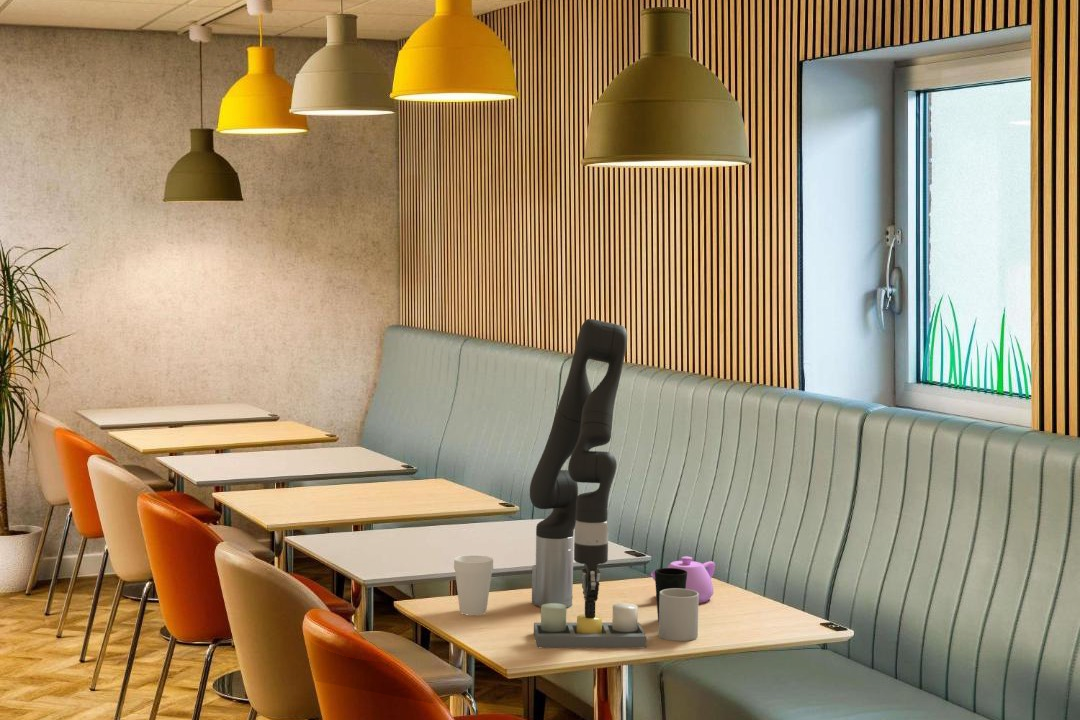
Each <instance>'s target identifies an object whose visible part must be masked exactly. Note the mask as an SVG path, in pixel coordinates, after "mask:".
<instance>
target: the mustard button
mask: <svg viewBox="0 0 1080 720" xmlns="http://www.w3.org/2000/svg"><path fill="white" fill-rule="evenodd" d="M602 622H603V616H601V615H599V614H595V618H586V617H585V613H584V614H583V613H582V614H579V615H577V616H576V623H577V634H602Z"/></svg>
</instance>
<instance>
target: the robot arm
mask: <svg viewBox="0 0 1080 720" xmlns="http://www.w3.org/2000/svg"><path fill="white" fill-rule="evenodd" d="M576 339H577V340H576V343H575V347H574V350H573V351H574V352H573V355H572V359H571V364H570V368H569V372H568V374H567V375H568V376H567V379H566V382H565V384H564V385H565V386H564V388H563V391H562V394H561V397H560V399H559V402H558V405H557V408H556V410H555V411H556V412H555V415H554V417H553V420H552V421H553V422H552V426H551V429H550V432H549V434H548V438H547V441H546V443H545V447H544V449H543V452H542V454H541V457H540V459H539V461H538V464H537V465H536V468H535V470H534V472H533V475H532V477H531V479H530V485H529V499H530V502H531V505H533V507H535V508H536V509H539V510H551V509H552V512H551V513H550V514H549V515H548V516H547V517H545V518H544V519H543V520H541V521H539V522H538V523H537V524H536V528H535V564H534V565H532V568H531V571H532V572H531V605H535V606H536V607H540V608H541V606H542V605H543V604H549V603H557V604H563V605H566V608H570V607H572V606H573V585H574V583H573V582H574V580H573V579H574V561H575V562H576V563H578V564H581V565H583V568H581V569H580V575H581V576H580V577H581V588H582V590H583V591H582V594H583V599H584V614H585V617H586V618H595V615H596V602H597V601H598V599H599V597H598V595H599V590H600V579H601V571H600V569H599V568H598V565H603V564H605V563H607V562H608V559H609V527H608V525H609V524H608V504H609V503H608V502H609V496H610V492H611V488H612V484H613V482H614V478H615V475H616V471H617V466H618V465H617V460H616V458H615V456H614V454H613V453H612V452H609V451H600V450H599V451H598V450H597V451H596V450H593V451H592V450H591V449H593V448H597V447H601V446H605V445H607V444H609V442H610V441H611V438H612V428H613V421H614V420H613V418H614V409H615V402H616V397H617V393H618V389H619V385H620V379H621V375H622V371H623V366H624V361H625V357H626V352H627V345H628V332H627V328H625V326H623V325H620V324H617V323H612V322H607V321H604V320H597V319H592V318H588V319H585V320H584V322H583V323H582V324H581V327H580V329H579V333H578V336H577V338H576ZM589 360H592V361H596V362H597V361H598V362H601V363H605V364H608V367H607V370H606V373H605V376H604V377H603V379H602V380H601V381H600V382H599V383H598V385H596V387H595V388H594V389H593V390H592V388H591V385H590V382H589V379H588V374H587V373H588V372H587V363H588V361H589ZM568 459H569V460H568ZM567 461H568V466H567V469H562V468H563V467H564V465H565V463H566V462H567ZM578 483H585V484H586V483H587V484H599V485H598V486H599V487H598V488H597V489H596V490H594V491H587V492H584V493H583V492H582V493H580V494H579V487H578Z"/></svg>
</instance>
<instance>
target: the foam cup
mask: <svg viewBox="0 0 1080 720" xmlns="http://www.w3.org/2000/svg"><path fill="white" fill-rule="evenodd" d="M453 568H454V573H455V582H456V590H457V599H458V608H459V613H460V612H461V613H463V614H468V615H467V616H471V615H476V616H482V615H481V614H483V615H485V614H487V608H488V601H489V595H490V587H491V582H492V581H491V580H492V574H493V570H494V558H493V557H491V556H489V555H482V554H464V555H459V556H458V555H457V556H456V557H454V558H453ZM461 613H460V614H461ZM484 613H485V614H484ZM463 614H462V615H463Z"/></svg>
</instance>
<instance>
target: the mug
mask: <svg viewBox="0 0 1080 720" xmlns="http://www.w3.org/2000/svg"><path fill="white" fill-rule="evenodd" d="M699 604H700V603H699V593H698V592H696V591H694V590H689V589H681V588H671V589H664V590H661V591H660V594H659V622H658V636H659V637H660V638H661V639H663V640H667V641H673V642H689V641H693V640H697V638H698V636H699V606H700V605H699Z"/></svg>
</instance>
